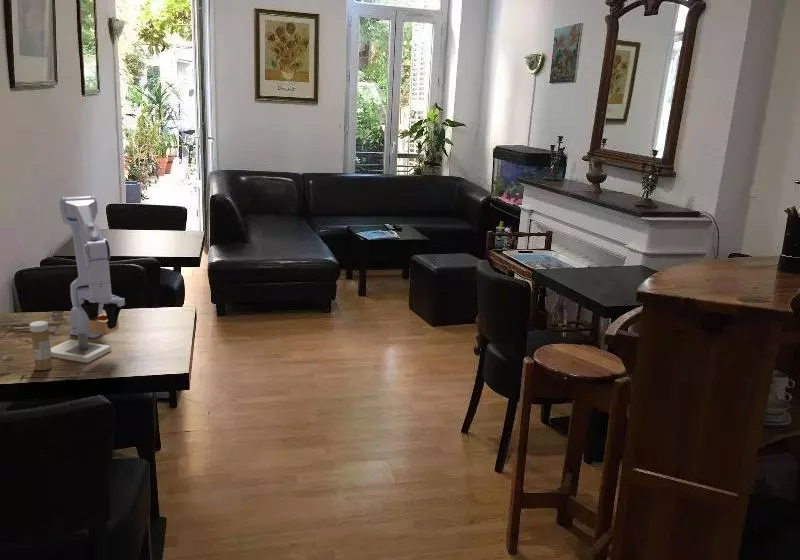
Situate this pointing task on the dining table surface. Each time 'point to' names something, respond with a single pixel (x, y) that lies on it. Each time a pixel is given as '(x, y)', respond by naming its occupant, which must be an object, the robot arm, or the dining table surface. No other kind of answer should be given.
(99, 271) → the robot arm
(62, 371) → the dining table surface
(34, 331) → the sprinkles bottle
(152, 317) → the dining table surface
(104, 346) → the post stand
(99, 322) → the small wooden box
